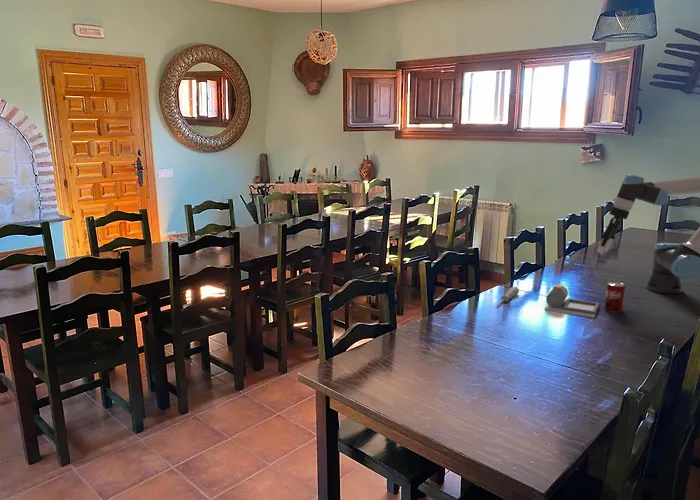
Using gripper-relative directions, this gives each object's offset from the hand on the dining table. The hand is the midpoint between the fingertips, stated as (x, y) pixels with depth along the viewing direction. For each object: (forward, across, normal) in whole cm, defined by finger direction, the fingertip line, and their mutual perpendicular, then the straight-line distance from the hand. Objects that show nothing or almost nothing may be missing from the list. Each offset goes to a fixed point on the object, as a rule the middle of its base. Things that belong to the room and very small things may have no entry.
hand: (601, 252), depth 238 cm
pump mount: (+26, +18, 0) cm, 32 cm away
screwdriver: (+34, +22, -27) cm, 49 cm away
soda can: (+21, +12, +15) cm, 28 cm away
